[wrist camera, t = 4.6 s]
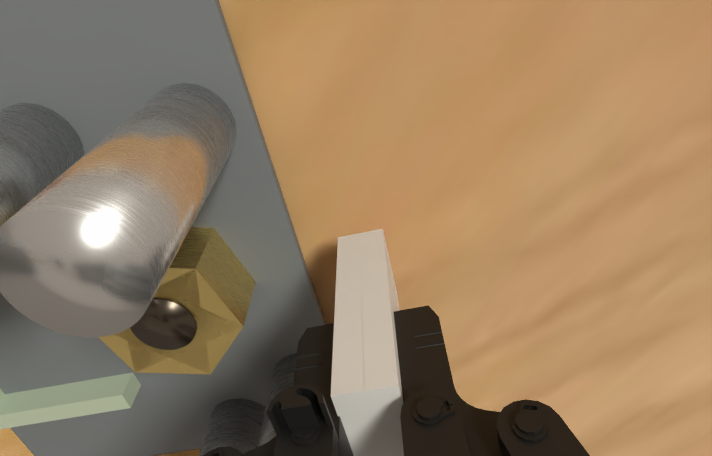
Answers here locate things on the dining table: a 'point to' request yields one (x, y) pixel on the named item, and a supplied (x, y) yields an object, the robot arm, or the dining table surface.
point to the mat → (220, 211)
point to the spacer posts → (115, 223)
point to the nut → (190, 311)
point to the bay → (68, 400)
